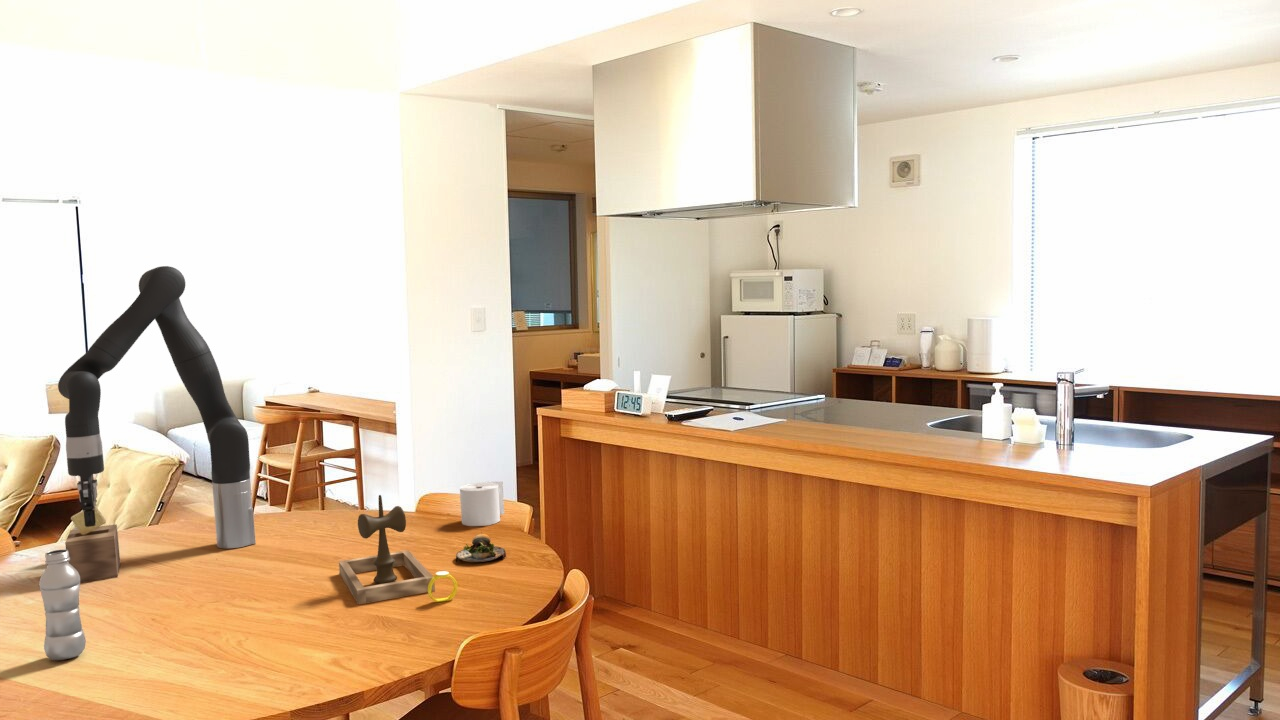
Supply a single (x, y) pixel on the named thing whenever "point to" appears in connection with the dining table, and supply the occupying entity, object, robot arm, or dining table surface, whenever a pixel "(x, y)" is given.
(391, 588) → the wooden frame
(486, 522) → the toilet tissue
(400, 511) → the kendama
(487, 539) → the burger
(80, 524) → the yellow wooden block
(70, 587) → the plastic bottle
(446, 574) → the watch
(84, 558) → the walnut tissue box
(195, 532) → the dining table surface
